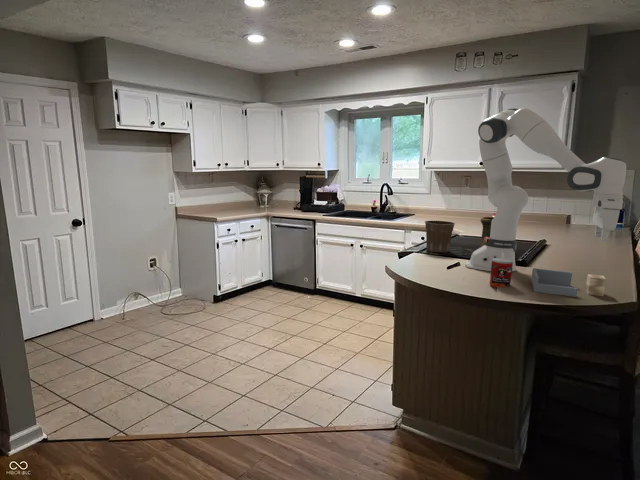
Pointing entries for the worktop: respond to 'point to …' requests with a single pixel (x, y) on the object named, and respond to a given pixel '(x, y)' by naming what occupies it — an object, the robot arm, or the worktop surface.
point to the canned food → (501, 272)
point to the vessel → (486, 228)
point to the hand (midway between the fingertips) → (600, 238)
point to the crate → (553, 282)
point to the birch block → (595, 285)
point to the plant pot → (438, 235)
